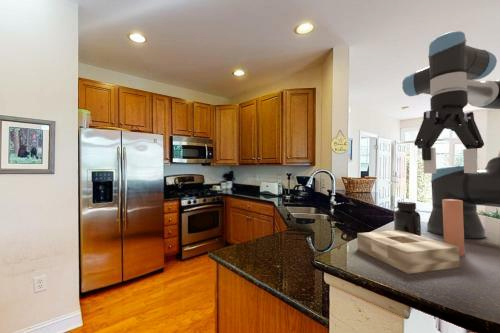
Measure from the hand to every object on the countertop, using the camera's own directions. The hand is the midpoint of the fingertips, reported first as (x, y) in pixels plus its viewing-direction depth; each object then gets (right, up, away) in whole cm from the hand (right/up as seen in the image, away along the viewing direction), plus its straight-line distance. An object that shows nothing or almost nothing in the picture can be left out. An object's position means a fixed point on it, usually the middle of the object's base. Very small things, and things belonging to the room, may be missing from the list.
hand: (450, 173), depth 61 cm
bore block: (-14, -21, -3) cm, 26 cm away
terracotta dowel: (0, -21, -1) cm, 21 cm away
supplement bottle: (-4, -22, +11) cm, 25 cm away
